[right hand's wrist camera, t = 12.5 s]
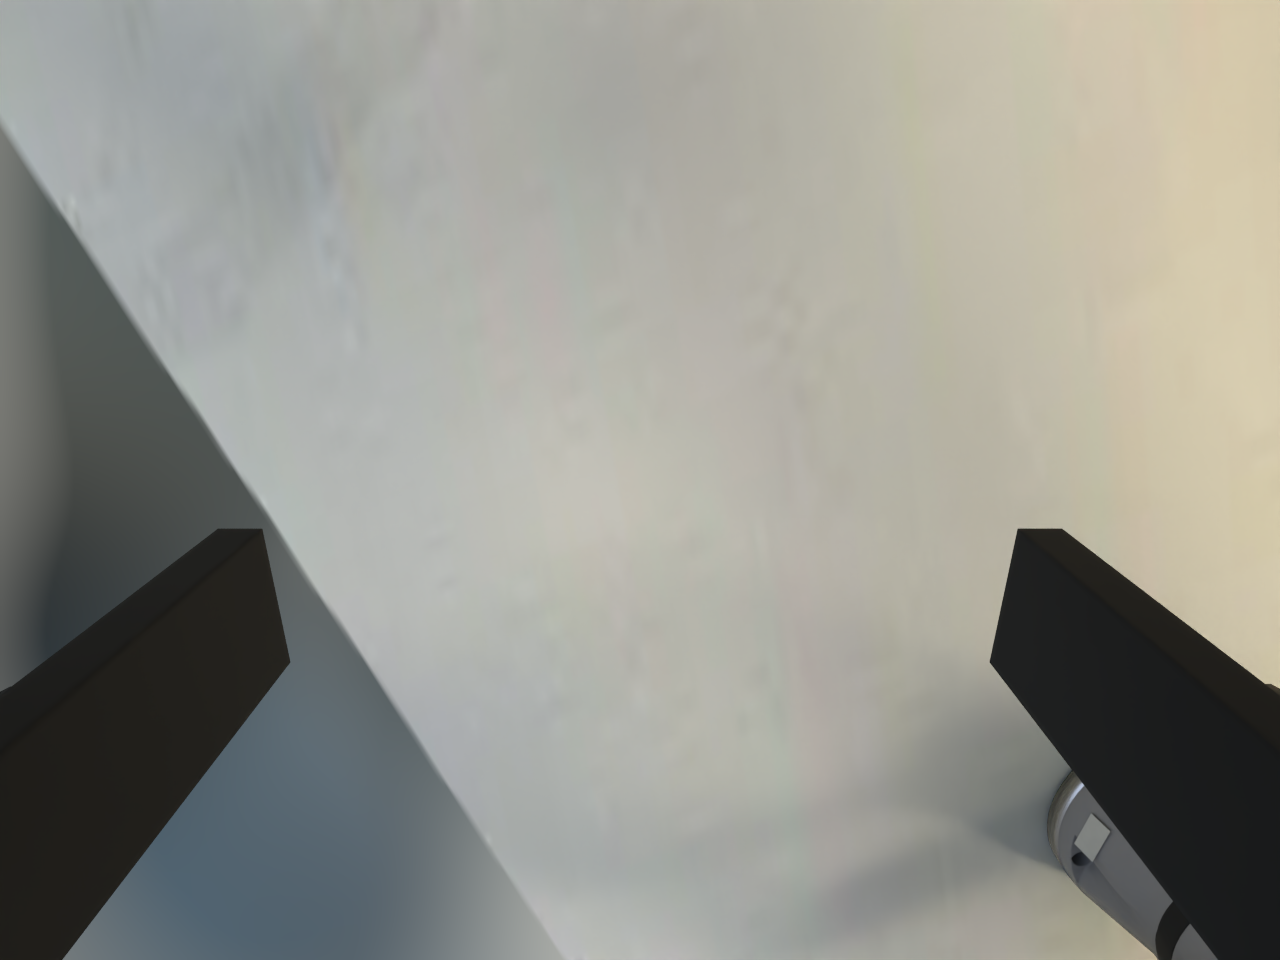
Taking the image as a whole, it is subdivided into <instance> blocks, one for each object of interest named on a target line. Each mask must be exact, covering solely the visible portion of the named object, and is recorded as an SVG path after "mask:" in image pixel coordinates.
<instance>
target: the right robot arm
mask: <svg viewBox="0 0 1280 960" xmlns="http://www.w3.org/2000/svg"><path fill="white" fill-rule="evenodd" d="M289 663H290V658H289V654H288V649H287V644H286V639H285V635H284V630H283V625H282V620H281V616H280V611H279V606H278V601H277V597H276V592H275V587H274V582H273V578H272V573H271V568H270V564H269V559H268V554H267V549H266V545H265V540H264V535H263V530H262V529H217V530H216V531H215V532H213V533H212V534H211V535H209V536H208V537H207V538H205V539H204V540H203V541H201V542H200V543H199V544H198V545H196V546H195V547H194V548H192V549H191V550H190V551H188V552H187V553H186V554H184V555H183V556H182V557H181V558H179V559H178V560H177V561H175V562H174V563H173V564H171V565H170V566H169V567H167V568H166V569H165V570H164V571H162V572H161V573H160V574H158V575H157V576H156V577H154V578H153V579H152V580H150V581H149V582H148V583H147V584H145V585H144V586H143V587H141V588H140V589H139V590H137V591H136V592H135V593H133V594H132V595H131V596H130V597H128V598H127V599H126V600H124V601H123V602H122V603H120V604H119V605H118V606H117V607H115V608H114V609H113V610H111V611H110V612H109V613H107V614H106V615H105V616H103V617H102V618H101V619H99V620H98V621H97V622H96V623H94V624H93V625H92V626H90V627H89V628H88V629H86V630H85V631H84V632H82V633H81V634H80V635H79V636H77V637H76V638H75V639H73V640H72V641H71V642H69V643H68V644H67V645H65V646H64V647H63V648H62V649H60V650H59V651H58V652H56V653H55V654H54V655H52V656H51V657H50V658H48V659H47V660H46V661H45V662H43V663H42V664H41V665H39V666H38V667H37V668H35V669H34V670H33V671H31V672H30V673H29V674H28V675H26V676H25V677H24V678H22V679H21V680H20V681H18V682H17V683H16V684H14V685H13V686H12V687H9V688H7V689H5V690H3V691H1V692H0V960H62V959H63V958H64V957H65V955H66V954H67V953H68V951H69V950H70V949H71V947H72V946H73V945H74V944H75V942H76V941H77V940H78V938H79V937H80V936H81V935H82V933H83V932H84V931H85V929H86V928H87V927H88V925H89V924H90V923H91V921H92V920H93V919H94V918H95V916H96V915H97V914H98V912H99V911H100V910H101V908H102V907H103V906H104V905H105V903H106V902H107V901H108V899H109V898H110V897H111V895H112V894H113V893H114V891H115V890H116V889H117V888H118V886H119V885H120V884H121V882H122V881H123V880H124V878H125V877H126V876H127V874H128V873H129V872H130V871H131V869H132V868H133V867H134V865H135V864H136V863H137V861H138V860H139V859H140V858H141V856H142V855H143V854H144V852H145V851H146V850H147V848H148V847H149V846H150V844H151V843H152V842H153V841H154V839H155V838H156V837H157V835H158V834H159V833H160V831H161V830H162V829H163V828H164V826H165V825H166V824H167V822H168V821H169V820H170V818H171V817H172V816H173V815H174V813H175V812H176V811H177V809H178V808H179V807H180V805H181V804H182V803H183V802H184V800H185V799H186V798H187V796H188V795H189V794H190V792H191V791H192V790H193V788H194V787H195V786H196V784H197V783H198V782H199V781H200V779H201V778H202V777H203V775H204V774H205V773H206V772H207V770H208V769H209V768H210V766H211V765H212V764H213V762H214V761H215V760H216V758H217V757H218V756H219V755H220V753H221V752H222V751H223V749H224V748H225V747H226V745H227V744H228V743H229V742H230V740H231V739H232V738H233V736H234V735H235V734H236V732H237V731H238V730H239V728H240V727H241V726H242V725H243V723H244V722H245V721H246V719H247V718H248V717H249V715H250V714H251V713H252V711H253V710H254V709H255V708H256V706H257V705H258V704H259V702H260V701H261V700H262V698H263V697H264V696H265V694H266V693H267V692H268V691H269V689H270V688H271V687H272V685H273V684H274V683H275V681H276V680H277V679H278V678H279V676H280V675H281V674H282V672H283V671H284V670H285V668H286V667H287V666H288V665H289ZM990 663H991V665H992V666H993V667H994V668H995V670H996V671H997V672H998V674H999V675H1000V676H1001V678H1002V679H1003V680H1004V682H1005V683H1006V684H1007V685H1008V687H1009V688H1010V689H1011V691H1012V692H1013V693H1014V695H1015V696H1016V697H1017V698H1018V700H1019V701H1020V702H1021V704H1022V705H1023V706H1024V708H1025V709H1026V710H1027V712H1028V713H1029V714H1030V715H1031V717H1032V718H1033V719H1034V721H1035V722H1036V723H1037V725H1038V726H1039V727H1040V728H1041V730H1042V731H1043V732H1044V734H1045V735H1046V736H1047V738H1048V739H1049V740H1050V742H1051V743H1052V744H1053V745H1054V747H1055V748H1056V749H1057V751H1058V752H1059V753H1060V755H1061V756H1062V757H1063V758H1064V760H1065V761H1066V762H1067V764H1068V765H1069V766H1070V768H1071V769H1072V770H1073V771H1072V772H1071V773H1070V774H1069V776H1068V777H1067V778H1066V779H1065V781H1064V782H1063V783H1062V785H1061V786H1060V788H1059V790H1058V791H1057V793H1056V795H1055V797H1054V799H1053V802H1052V804H1051V807H1050V811H1049V815H1048V822H1047V832H1048V839H1049V842H1050V846H1051V848H1052V850H1053V853H1054V854H1055V856H1056V857H1057V859H1058V861H1059V862H1060V864H1061V865H1062V867H1063V868H1064V870H1065V872H1066V873H1067V875H1068V876H1069V877H1070V878H1071V880H1072V881H1073V882H1074V883H1075V884H1076V885H1077V886H1078V888H1079V889H1080V890H1081V891H1082V892H1083V893H1084V894H1085V895H1086V896H1087V897H1089V898H1090V899H1091V900H1092V901H1093V902H1094V903H1096V904H1097V905H1098V906H1099V907H1100V908H1101V909H1102V910H1104V911H1105V912H1106V913H1107V914H1108V915H1109V916H1111V917H1112V918H1113V919H1114V920H1115V921H1116V922H1118V923H1119V924H1120V925H1121V926H1122V927H1123V928H1125V929H1126V930H1127V931H1128V932H1129V933H1130V934H1131V935H1133V936H1134V937H1135V938H1136V939H1137V940H1138V941H1140V942H1141V943H1142V944H1143V945H1144V946H1145V947H1147V948H1148V949H1149V950H1150V951H1151V952H1152V953H1153V954H1154V955H1155V956H1156V957H1157V959H1158V960H1280V689H1279V688H1277V687H1275V686H1274V685H1272V684H1264V683H1263V682H1262V681H1260V680H1259V679H1258V678H1256V677H1255V676H1254V675H1252V674H1251V673H1250V672H1249V671H1247V670H1246V669H1245V668H1243V667H1242V666H1241V665H1239V664H1238V663H1237V662H1235V661H1234V660H1233V659H1232V658H1230V657H1229V656H1228V655H1226V654H1225V653H1224V652H1222V651H1221V650H1220V649H1218V648H1217V647H1216V646H1215V645H1213V644H1212V643H1211V642H1209V641H1208V640H1207V639H1205V638H1204V637H1203V636H1201V635H1200V634H1199V633H1198V632H1196V631H1195V630H1194V629H1192V628H1191V627H1190V626H1188V625H1187V624H1186V623H1184V622H1183V621H1182V620H1181V619H1179V618H1178V617H1177V616H1175V615H1174V614H1173V613H1171V612H1170V611H1169V610H1167V609H1166V608H1165V607H1164V606H1162V605H1161V604H1160V603H1158V602H1157V601H1156V600H1154V599H1153V598H1152V597H1150V596H1149V595H1148V594H1147V593H1145V592H1144V591H1143V590H1141V589H1140V588H1139V587H1137V586H1136V585H1135V584H1133V583H1132V582H1131V581H1130V580H1128V579H1127V578H1126V577H1124V576H1123V575H1122V574H1120V573H1119V572H1118V571H1116V570H1115V569H1114V568H1113V567H1111V566H1110V565H1109V564H1107V563H1106V562H1105V561H1103V560H1102V559H1101V558H1099V557H1098V556H1097V555H1096V554H1094V553H1093V552H1092V551H1090V550H1089V549H1088V548H1086V547H1085V546H1084V545H1082V544H1081V543H1080V542H1079V541H1077V540H1076V539H1075V538H1073V537H1072V536H1071V535H1069V534H1068V533H1067V532H1065V531H1064V530H1063V529H1018V530H1017V535H1016V540H1015V544H1014V549H1013V554H1012V559H1011V563H1010V568H1009V573H1008V578H1007V582H1006V587H1005V592H1004V597H1003V601H1002V606H1001V611H1000V616H999V620H998V625H997V630H996V635H995V639H994V644H993V649H992V654H991V658H990Z"/></svg>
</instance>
